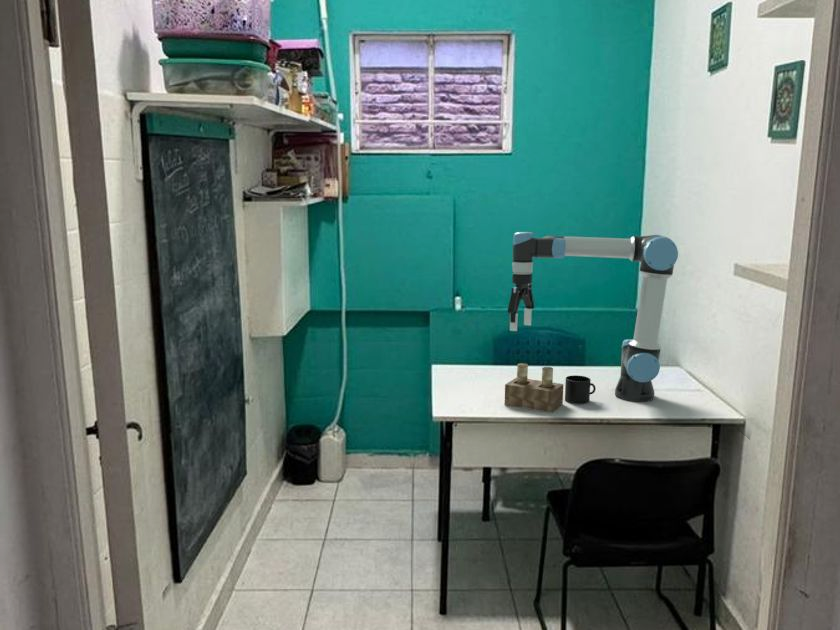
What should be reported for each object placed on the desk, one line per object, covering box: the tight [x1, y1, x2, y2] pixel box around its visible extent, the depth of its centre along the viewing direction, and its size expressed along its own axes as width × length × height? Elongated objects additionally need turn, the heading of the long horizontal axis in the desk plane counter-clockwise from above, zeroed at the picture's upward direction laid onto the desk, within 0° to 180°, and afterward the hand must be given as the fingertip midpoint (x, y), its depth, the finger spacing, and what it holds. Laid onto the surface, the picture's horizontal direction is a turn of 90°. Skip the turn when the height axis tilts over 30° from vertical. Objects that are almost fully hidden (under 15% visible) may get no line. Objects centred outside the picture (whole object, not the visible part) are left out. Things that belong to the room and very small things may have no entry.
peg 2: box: [541, 366, 554, 389], centre depth 262 cm, size 4×4×8 cm
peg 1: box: [516, 363, 529, 385], centre depth 267 cm, size 4×4×8 cm
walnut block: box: [504, 377, 564, 413], centre depth 265 cm, size 19×12×8 cm, turn 61°
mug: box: [564, 374, 597, 405], centre depth 271 cm, size 9×12×9 cm
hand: (520, 327), depth 268 cm, fingers open, 13 cm apart
